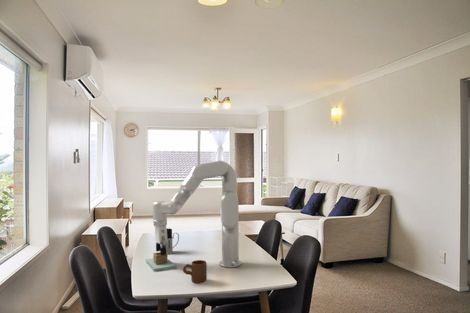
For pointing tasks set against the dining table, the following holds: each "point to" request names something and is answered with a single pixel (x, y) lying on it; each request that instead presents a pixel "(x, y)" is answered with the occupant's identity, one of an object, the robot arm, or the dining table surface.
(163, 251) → the robot arm
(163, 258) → the walnut collar
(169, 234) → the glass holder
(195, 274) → the mug
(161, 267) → the base board
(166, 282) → the dining table surface
